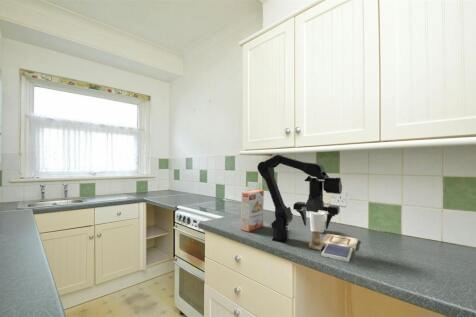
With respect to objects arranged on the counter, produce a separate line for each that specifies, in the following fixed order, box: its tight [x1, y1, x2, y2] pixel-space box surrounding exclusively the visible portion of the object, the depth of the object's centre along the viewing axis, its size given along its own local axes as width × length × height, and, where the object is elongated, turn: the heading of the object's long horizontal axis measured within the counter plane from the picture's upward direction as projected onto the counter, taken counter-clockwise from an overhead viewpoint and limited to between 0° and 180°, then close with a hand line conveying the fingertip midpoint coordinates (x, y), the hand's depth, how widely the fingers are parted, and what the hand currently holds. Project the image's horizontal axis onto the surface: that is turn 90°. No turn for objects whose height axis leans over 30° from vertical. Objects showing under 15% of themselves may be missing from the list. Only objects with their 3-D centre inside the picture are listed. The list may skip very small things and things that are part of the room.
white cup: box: [309, 210, 326, 234], centre depth 125 cm, size 8×8×10 cm
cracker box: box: [240, 189, 265, 233], centre depth 130 cm, size 14×6×21 cm, turn 140°
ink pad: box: [321, 244, 353, 262], centre depth 95 cm, size 10×12×2 cm
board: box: [320, 233, 359, 251], centre depth 108 cm, size 14×14×1 cm
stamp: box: [308, 231, 324, 251], centre depth 102 cm, size 5×5×7 cm
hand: (315, 227), depth 102 cm, fingers open, 9 cm apart
